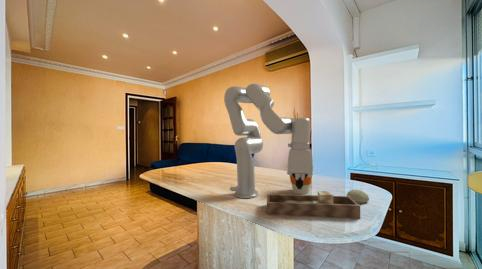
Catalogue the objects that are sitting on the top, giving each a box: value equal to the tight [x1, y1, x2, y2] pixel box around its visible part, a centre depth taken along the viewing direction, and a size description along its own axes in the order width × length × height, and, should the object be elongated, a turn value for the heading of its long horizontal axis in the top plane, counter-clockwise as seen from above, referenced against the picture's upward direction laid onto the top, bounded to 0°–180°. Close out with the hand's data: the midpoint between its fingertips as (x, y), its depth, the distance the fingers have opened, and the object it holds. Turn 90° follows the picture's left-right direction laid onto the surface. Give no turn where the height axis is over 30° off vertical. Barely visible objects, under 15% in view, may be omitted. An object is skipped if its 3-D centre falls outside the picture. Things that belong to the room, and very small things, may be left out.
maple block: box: [317, 190, 334, 204], centre depth 84 cm, size 5×5×5 cm
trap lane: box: [266, 193, 361, 219], centre depth 85 cm, size 36×11×5 cm, turn 81°
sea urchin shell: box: [346, 189, 370, 204], centre depth 96 cm, size 9×8×8 cm
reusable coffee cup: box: [289, 174, 313, 195], centre depth 112 cm, size 13×13×15 cm
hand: (299, 188), depth 86 cm, fingers closed
